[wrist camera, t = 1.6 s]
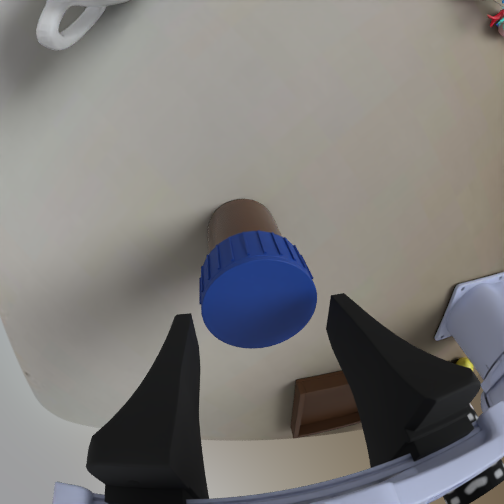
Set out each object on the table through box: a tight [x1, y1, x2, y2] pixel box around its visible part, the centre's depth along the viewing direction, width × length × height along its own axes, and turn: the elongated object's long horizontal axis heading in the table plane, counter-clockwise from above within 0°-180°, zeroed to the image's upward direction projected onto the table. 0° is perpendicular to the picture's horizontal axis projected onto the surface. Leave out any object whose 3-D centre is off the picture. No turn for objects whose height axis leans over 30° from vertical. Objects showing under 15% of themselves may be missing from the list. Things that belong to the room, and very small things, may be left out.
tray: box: [291, 371, 361, 438], centre depth 32 cm, size 11×11×2 cm
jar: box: [208, 199, 282, 255], centre depth 17 cm, size 4×4×7 cm
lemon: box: [456, 358, 473, 371], centre depth 35 cm, size 4×8×4 cm
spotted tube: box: [443, 403, 504, 504], centre depth 28 cm, size 8×8×20 cm
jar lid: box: [200, 230, 317, 348], centre depth 15 cm, size 5×5×3 cm
